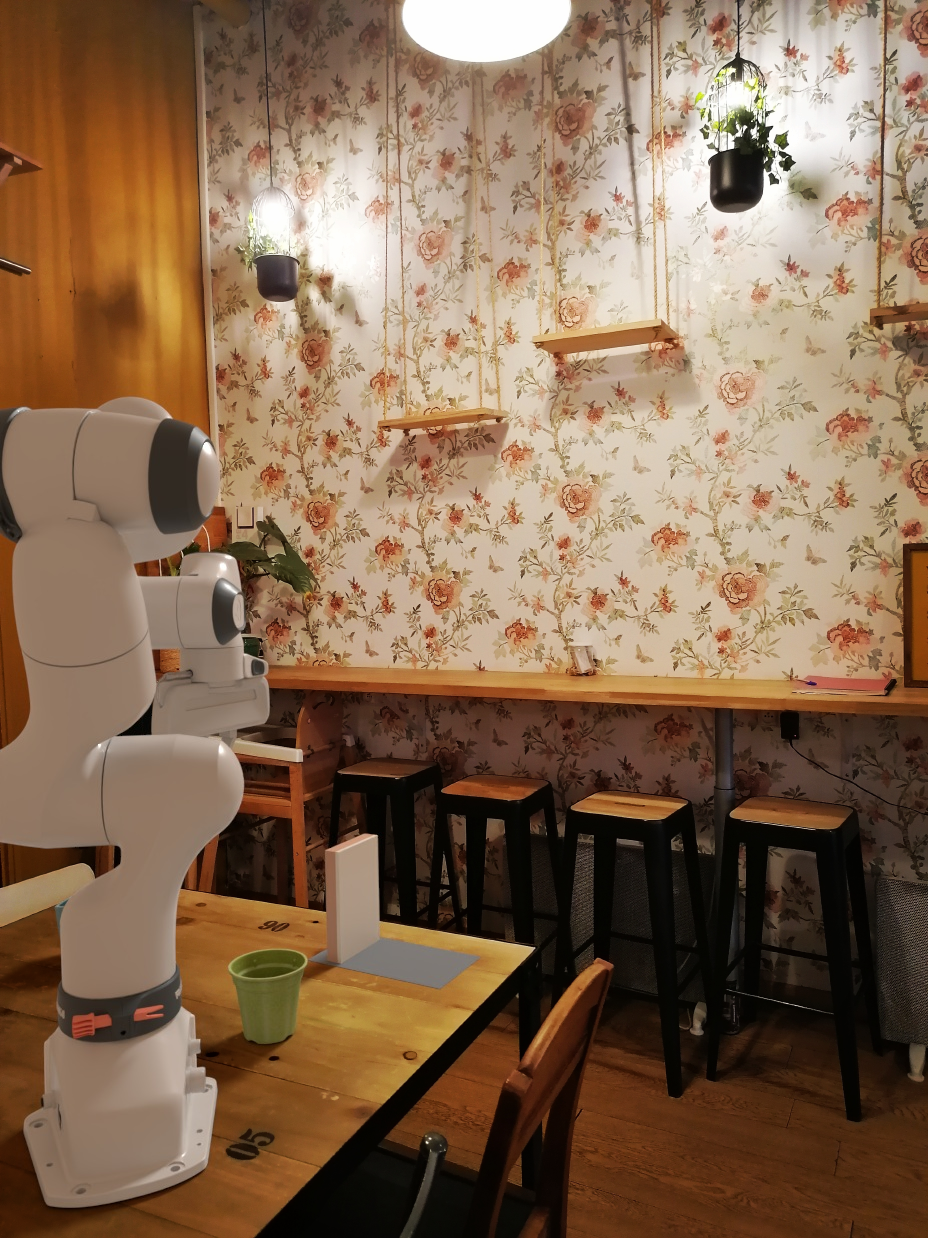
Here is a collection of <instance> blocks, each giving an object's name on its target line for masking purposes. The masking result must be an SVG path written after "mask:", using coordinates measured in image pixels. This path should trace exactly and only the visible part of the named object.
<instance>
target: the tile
mask: <svg viewBox="0 0 928 1238" xmlns="http://www.w3.org/2000/svg"><path fill="white" fill-rule="evenodd" d="M378 837H379V835H377V834H370V833H362V834H360V835H358V836H356V837H353V838H351V839H349V840H346V841H343V842H341V843H339V844H336V845H334V846H332V847H331V848H330V847H329V848H327V849H325V850H324V856H325V857H324V862H325V863H324V869H325V871H324V872H325V909H326V911H325V912H326V913H325V914H326V915H325V916H326V917H325V918H326V919H325V920H326V949H327V961H331V962H335V963H340V964H341V963H343V962H345V961H346V960H348V959H349V958H351V957H353V956H354V955H356V954H358V953H359V952H361V951H362V950H364V949H366V948H367V947H369V946H370V945H372V944H374V943H375V942H377V941H379V940H380V937H381V936H380V935H381V934H380V930H381V929H380V888H379V880H380V879H379V878H380V877H379V838H378Z"/></svg>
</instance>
